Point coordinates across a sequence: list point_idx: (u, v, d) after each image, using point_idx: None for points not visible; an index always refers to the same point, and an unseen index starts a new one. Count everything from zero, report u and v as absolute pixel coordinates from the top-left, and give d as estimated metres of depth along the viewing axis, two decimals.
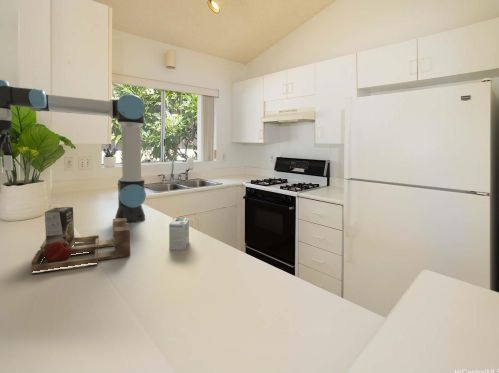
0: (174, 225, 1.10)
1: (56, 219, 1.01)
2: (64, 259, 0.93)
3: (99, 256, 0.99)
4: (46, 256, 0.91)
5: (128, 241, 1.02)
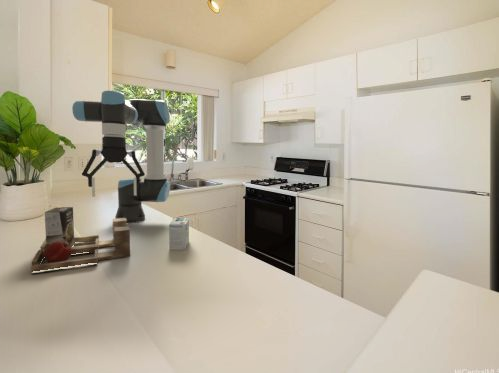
0: (174, 225, 1.10)
1: (56, 219, 1.01)
2: (64, 259, 0.93)
3: (99, 256, 0.99)
4: (46, 256, 0.91)
5: (128, 241, 1.02)
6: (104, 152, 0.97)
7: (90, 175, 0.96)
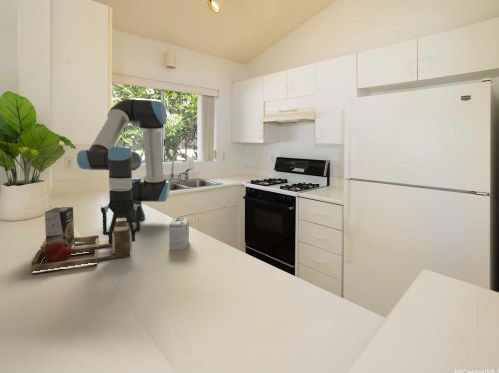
0: (174, 225, 1.10)
1: (56, 219, 1.01)
2: (64, 259, 0.93)
3: (99, 256, 0.99)
4: (46, 256, 0.91)
5: (128, 241, 1.02)
6: (111, 206, 0.99)
7: (110, 233, 1.00)
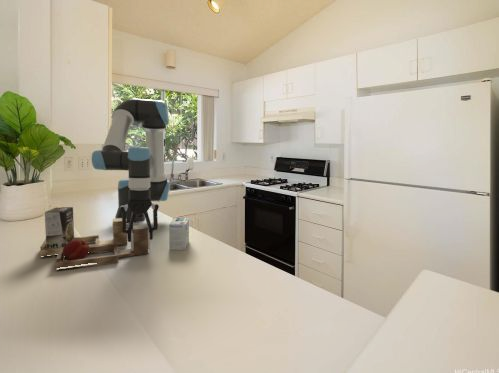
0: (174, 225, 1.10)
1: (56, 219, 1.01)
2: (82, 257, 0.95)
3: (119, 254, 1.02)
4: (65, 254, 0.93)
5: (146, 239, 1.05)
6: (131, 205, 1.02)
7: (129, 231, 1.03)
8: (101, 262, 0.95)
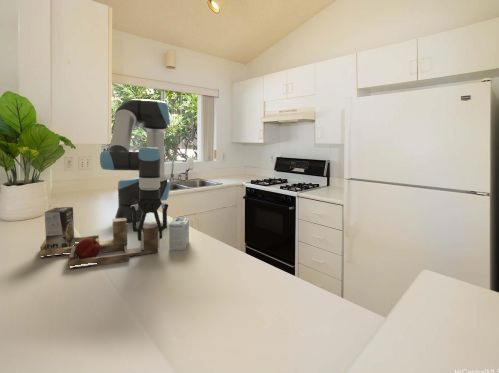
0: (174, 225, 1.10)
1: (56, 219, 1.01)
2: (93, 256, 0.97)
3: (129, 252, 1.03)
4: (77, 252, 0.95)
5: (156, 238, 1.06)
6: (141, 204, 1.03)
7: (140, 230, 1.04)
8: (113, 260, 0.96)
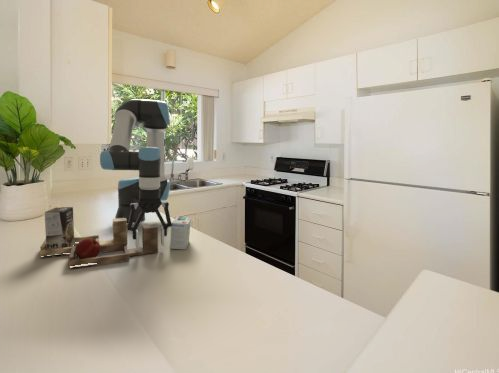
0: (176, 224, 1.10)
1: (56, 219, 1.01)
2: (93, 256, 0.97)
3: (129, 252, 1.03)
4: (77, 252, 0.95)
5: (156, 238, 1.06)
6: (141, 204, 1.03)
7: (135, 229, 1.03)
8: (113, 260, 0.96)
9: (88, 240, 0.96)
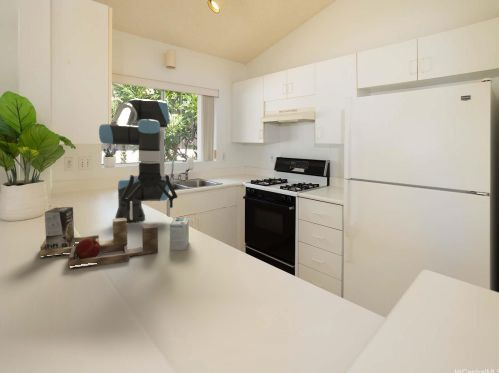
0: (175, 225, 1.10)
1: (56, 219, 1.01)
2: (93, 256, 0.97)
3: (129, 252, 1.03)
4: (77, 252, 0.95)
5: (156, 238, 1.06)
6: (141, 178, 1.02)
7: (128, 200, 1.01)
8: (113, 260, 0.96)
9: (88, 240, 0.96)
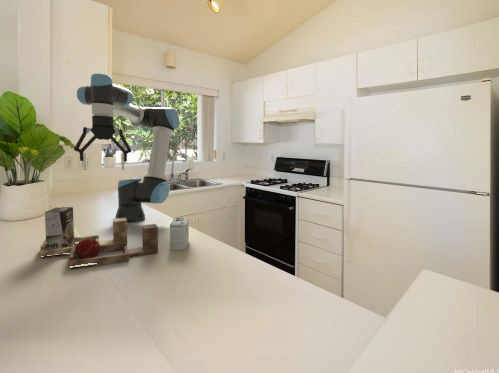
0: (175, 225, 1.10)
1: (56, 219, 1.01)
2: (93, 256, 0.97)
3: (129, 252, 1.03)
4: (77, 252, 0.95)
5: (156, 238, 1.06)
6: (94, 130, 1.08)
7: (81, 150, 1.07)
8: (113, 260, 0.96)
9: (88, 240, 0.96)
